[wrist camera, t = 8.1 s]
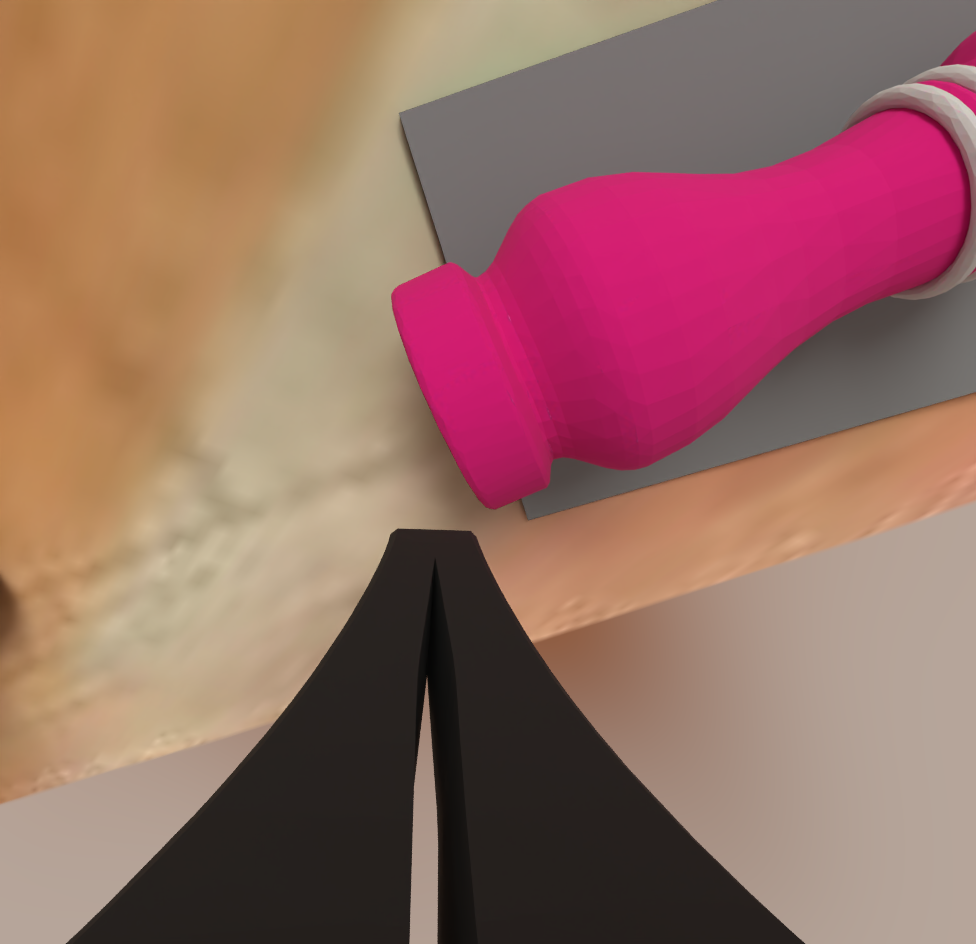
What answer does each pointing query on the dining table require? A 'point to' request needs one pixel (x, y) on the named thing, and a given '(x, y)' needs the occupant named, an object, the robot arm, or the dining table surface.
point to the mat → (710, 150)
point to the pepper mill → (687, 288)
